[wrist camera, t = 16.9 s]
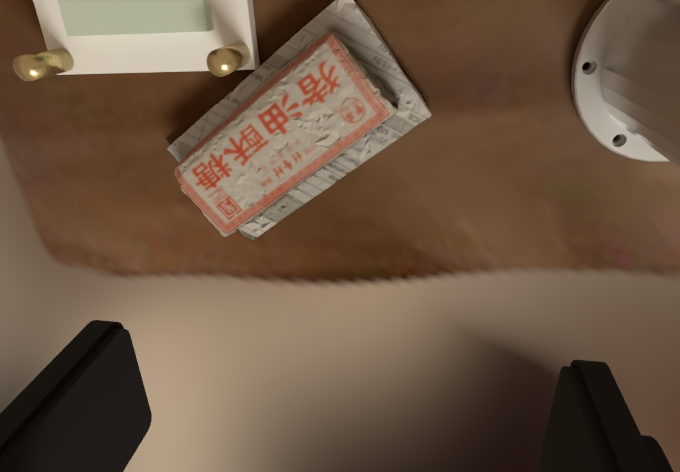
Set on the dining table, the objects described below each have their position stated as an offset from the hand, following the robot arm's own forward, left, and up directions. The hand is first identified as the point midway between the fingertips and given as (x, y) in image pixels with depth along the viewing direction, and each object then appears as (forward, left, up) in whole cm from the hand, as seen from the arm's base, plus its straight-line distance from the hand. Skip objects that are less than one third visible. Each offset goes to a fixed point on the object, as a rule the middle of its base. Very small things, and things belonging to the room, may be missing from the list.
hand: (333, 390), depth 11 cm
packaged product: (+7, +2, -29) cm, 29 cm away
